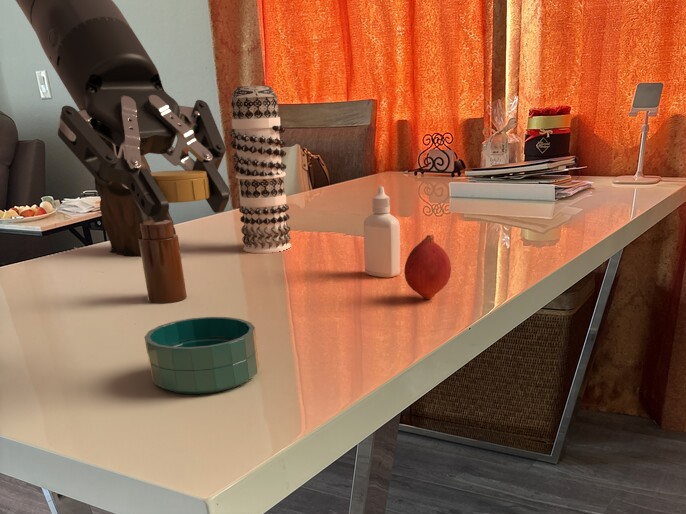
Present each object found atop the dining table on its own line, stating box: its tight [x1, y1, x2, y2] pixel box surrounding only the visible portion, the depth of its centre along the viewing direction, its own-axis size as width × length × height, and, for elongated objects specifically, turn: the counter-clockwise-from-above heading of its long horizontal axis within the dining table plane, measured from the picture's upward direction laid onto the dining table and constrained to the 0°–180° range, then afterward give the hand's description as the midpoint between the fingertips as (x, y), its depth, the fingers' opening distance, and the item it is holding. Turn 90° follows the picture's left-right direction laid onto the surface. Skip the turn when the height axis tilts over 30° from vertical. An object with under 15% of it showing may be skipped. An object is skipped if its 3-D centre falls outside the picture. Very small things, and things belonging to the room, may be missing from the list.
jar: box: [138, 220, 188, 304], centre depth 94 cm, size 5×5×10 cm
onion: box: [403, 233, 452, 300], centre depth 89 cm, size 6×6×8 cm
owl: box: [94, 134, 177, 257], centre depth 123 cm, size 13×13×20 cm
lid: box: [151, 169, 210, 204], centre depth 60 cm, size 5×5×2 cm
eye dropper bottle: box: [363, 185, 401, 279], centre depth 102 cm, size 4×6×12 cm
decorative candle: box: [228, 85, 292, 254], centre depth 120 cm, size 9×9×25 cm
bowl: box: [144, 316, 260, 395], centre depth 67 cm, size 10×10×4 cm
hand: (193, 209), depth 60 cm, fingers closed on lid, 5 cm apart
